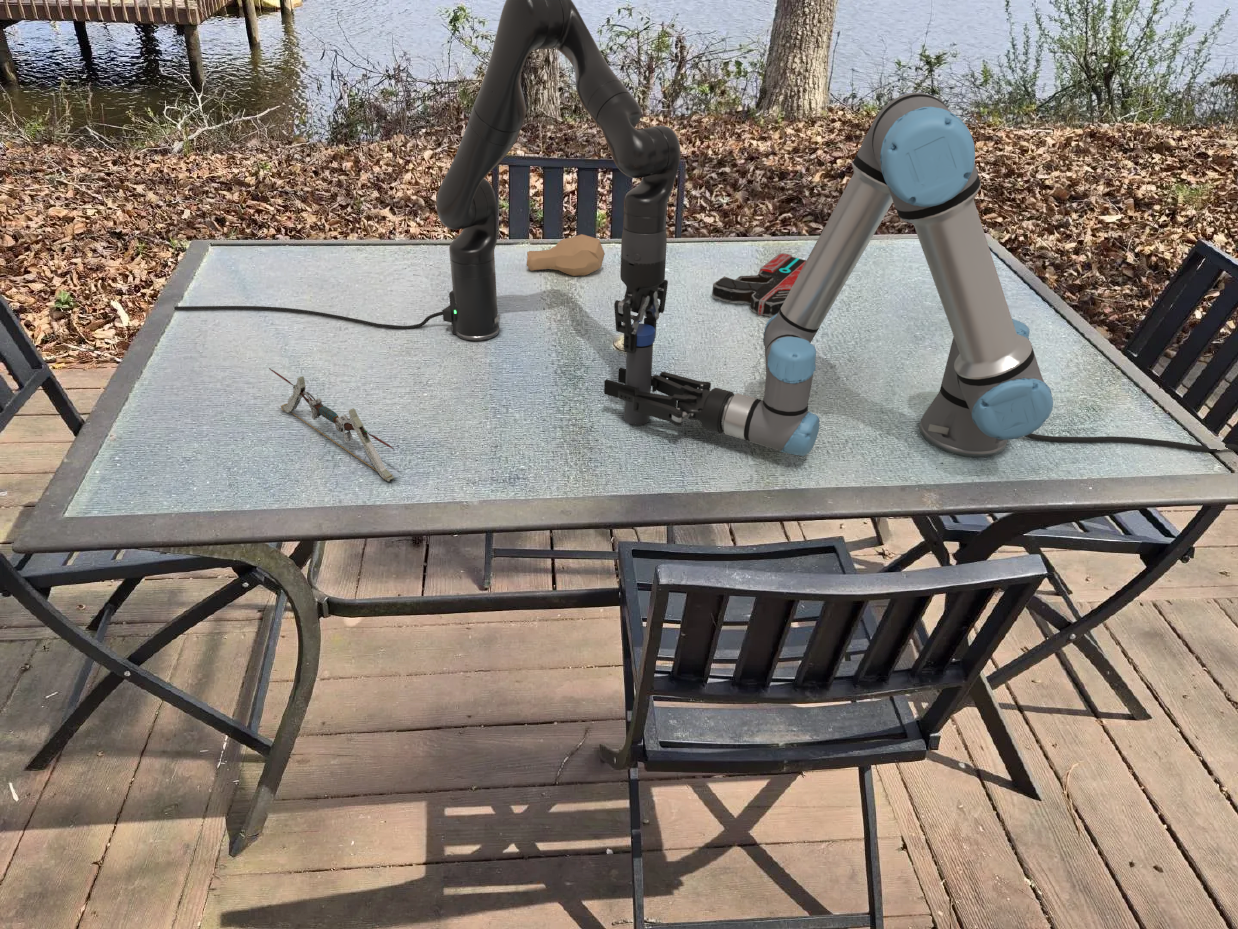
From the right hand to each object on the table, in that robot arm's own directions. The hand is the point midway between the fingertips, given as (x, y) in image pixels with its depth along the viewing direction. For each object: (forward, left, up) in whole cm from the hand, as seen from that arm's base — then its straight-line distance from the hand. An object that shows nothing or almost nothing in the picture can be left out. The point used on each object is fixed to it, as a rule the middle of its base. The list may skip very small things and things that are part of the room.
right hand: (612, 380), depth 162 cm
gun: (-35, -63, -7) cm, 72 cm away
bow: (+48, +16, -7) cm, 51 cm away
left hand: (-5, +2, +9) cm, 10 cm away
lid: (-5, +2, +11) cm, 12 cm away
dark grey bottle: (-5, +2, -7) cm, 8 cm away
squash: (+17, -69, -7) cm, 72 cm away
